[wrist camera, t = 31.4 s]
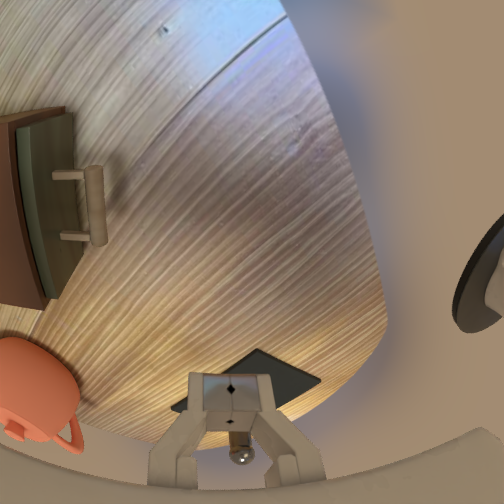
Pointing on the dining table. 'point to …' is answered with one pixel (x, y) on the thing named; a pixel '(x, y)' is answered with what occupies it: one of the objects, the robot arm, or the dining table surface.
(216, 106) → the dining table surface
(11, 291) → the cabinet
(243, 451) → the domed metal post
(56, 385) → the teapot
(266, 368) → the mat
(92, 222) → the drawer
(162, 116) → the dining table surface
